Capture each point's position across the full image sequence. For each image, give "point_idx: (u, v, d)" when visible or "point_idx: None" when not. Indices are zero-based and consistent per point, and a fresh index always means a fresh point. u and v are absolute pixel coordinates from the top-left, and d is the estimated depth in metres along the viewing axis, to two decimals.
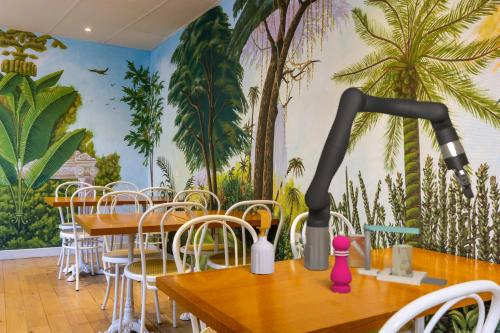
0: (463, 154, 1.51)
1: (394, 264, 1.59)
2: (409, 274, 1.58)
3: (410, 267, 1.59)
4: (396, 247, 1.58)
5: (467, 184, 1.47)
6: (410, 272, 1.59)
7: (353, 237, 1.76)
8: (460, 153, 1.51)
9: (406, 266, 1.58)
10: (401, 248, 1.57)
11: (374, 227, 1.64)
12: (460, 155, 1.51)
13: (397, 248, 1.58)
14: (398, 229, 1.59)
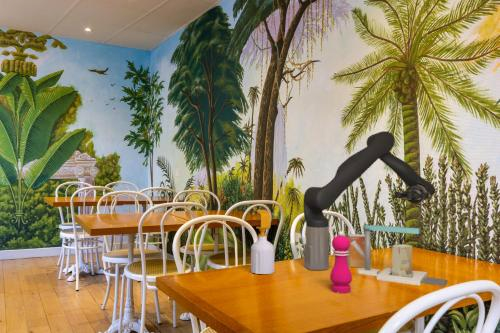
0: (421, 200, 1.81)
1: (394, 264, 1.59)
2: (409, 274, 1.58)
3: (410, 267, 1.59)
4: (396, 247, 1.58)
5: (425, 196, 1.70)
6: (410, 272, 1.59)
7: (353, 237, 1.76)
8: (423, 198, 1.81)
9: (406, 266, 1.58)
10: (401, 248, 1.57)
11: (374, 227, 1.64)
12: None
13: (397, 248, 1.58)
14: (398, 229, 1.59)
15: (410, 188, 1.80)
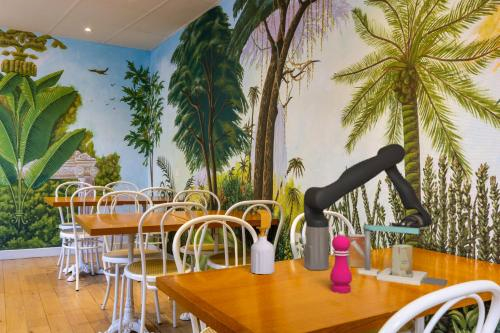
0: None
1: (394, 264, 1.59)
2: (409, 274, 1.58)
3: (410, 267, 1.59)
4: (396, 247, 1.58)
5: None
6: (410, 272, 1.59)
7: (353, 237, 1.76)
8: None
9: (406, 266, 1.58)
10: (401, 248, 1.57)
11: (374, 227, 1.64)
12: None
13: (397, 248, 1.58)
14: (398, 229, 1.59)
15: (405, 219, 1.72)
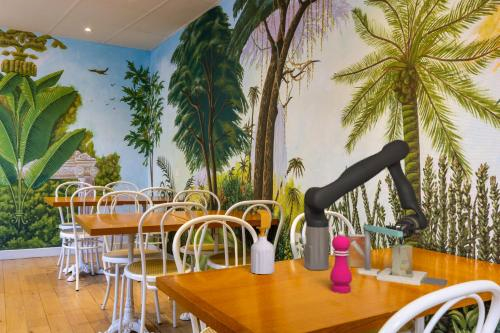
0: (412, 235, 1.65)
1: (394, 264, 1.59)
2: (409, 274, 1.58)
3: (410, 267, 1.59)
4: (396, 247, 1.58)
5: (408, 232, 1.55)
6: (410, 272, 1.59)
7: (353, 237, 1.76)
8: None
9: (406, 266, 1.58)
10: (401, 248, 1.57)
11: (369, 227, 1.63)
12: None
13: (397, 248, 1.58)
14: (384, 231, 1.55)
15: (400, 221, 1.64)
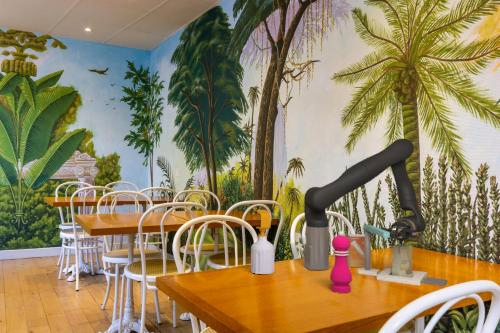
0: None
1: (394, 264, 1.59)
2: (409, 274, 1.58)
3: (410, 267, 1.59)
4: (396, 247, 1.58)
5: (404, 235, 1.49)
6: (410, 272, 1.59)
7: (353, 237, 1.76)
8: None
9: (406, 266, 1.58)
10: (401, 248, 1.57)
11: (367, 227, 1.63)
12: None
13: (397, 248, 1.58)
14: (375, 231, 1.54)
15: (396, 223, 1.58)
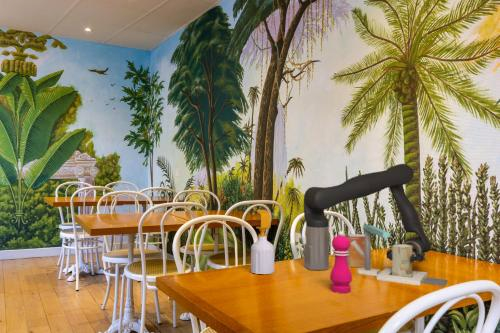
0: None
1: (394, 264, 1.59)
2: (409, 274, 1.58)
3: (410, 267, 1.59)
4: (396, 247, 1.58)
5: (421, 259, 1.58)
6: (410, 272, 1.59)
7: (353, 237, 1.76)
8: None
9: (406, 266, 1.58)
10: (401, 248, 1.57)
11: (367, 227, 1.63)
12: None
13: (397, 248, 1.58)
14: (375, 231, 1.54)
15: None
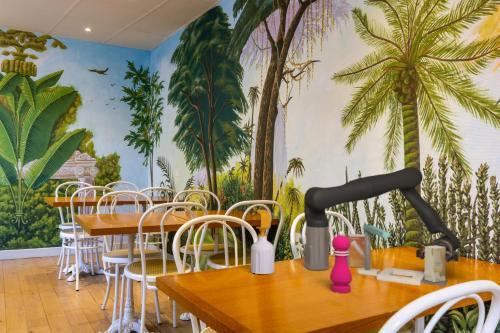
0: None
1: (427, 266, 1.53)
2: (442, 276, 1.52)
3: (443, 269, 1.53)
4: (429, 248, 1.52)
5: (457, 258, 1.53)
6: (443, 274, 1.53)
7: (353, 237, 1.76)
8: None
9: (440, 268, 1.52)
10: (435, 249, 1.51)
11: (367, 227, 1.63)
12: None
13: (430, 249, 1.52)
14: (375, 231, 1.54)
15: None
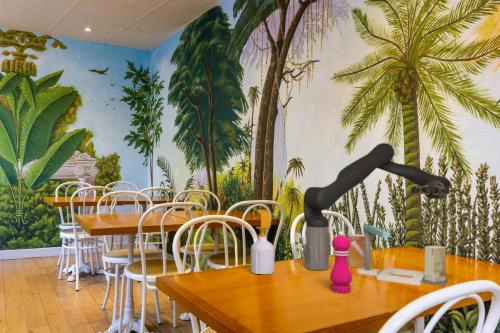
0: (439, 196, 1.81)
1: (427, 266, 1.53)
2: (442, 276, 1.52)
3: (443, 269, 1.53)
4: (429, 248, 1.52)
5: (448, 191, 1.70)
6: (443, 274, 1.53)
7: (353, 237, 1.76)
8: (441, 194, 1.81)
9: (440, 268, 1.52)
10: (435, 249, 1.51)
11: (367, 227, 1.63)
12: (441, 193, 1.81)
13: (430, 249, 1.52)
14: (375, 231, 1.54)
15: (428, 183, 1.80)
